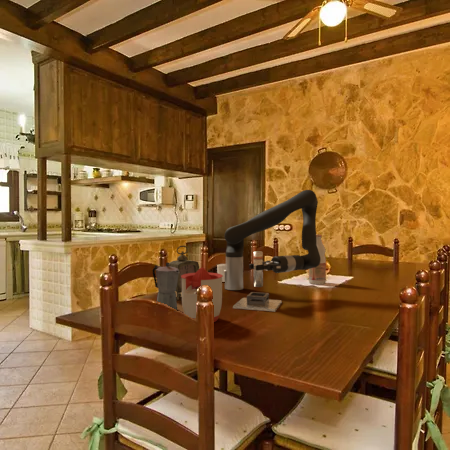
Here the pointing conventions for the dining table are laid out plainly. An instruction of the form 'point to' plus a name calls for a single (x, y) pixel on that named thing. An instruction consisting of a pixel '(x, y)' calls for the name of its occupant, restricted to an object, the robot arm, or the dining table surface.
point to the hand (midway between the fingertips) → (253, 267)
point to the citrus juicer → (193, 283)
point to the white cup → (221, 270)
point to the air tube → (258, 273)
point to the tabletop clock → (183, 268)
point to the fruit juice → (319, 272)
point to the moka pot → (166, 284)
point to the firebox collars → (258, 302)
